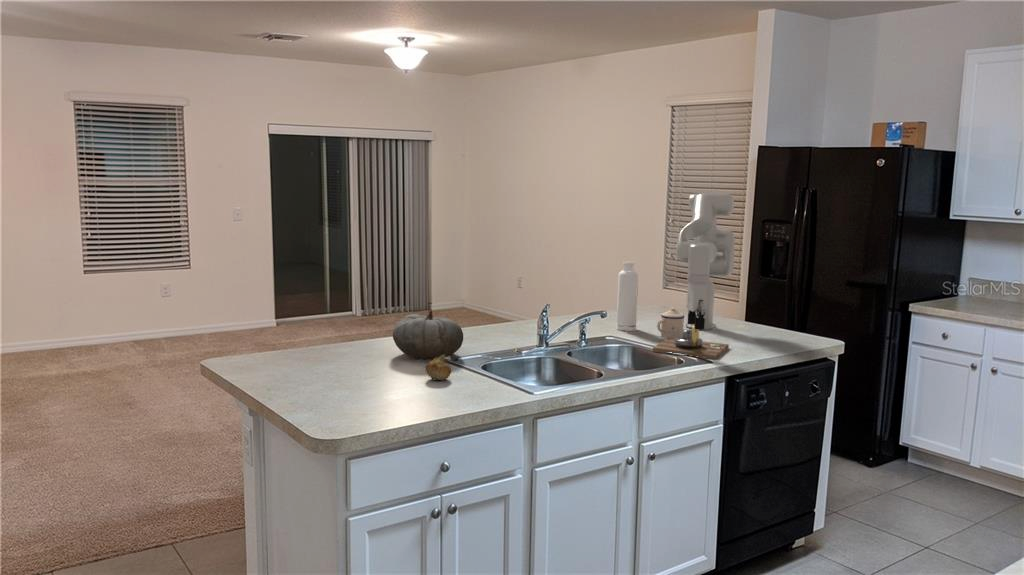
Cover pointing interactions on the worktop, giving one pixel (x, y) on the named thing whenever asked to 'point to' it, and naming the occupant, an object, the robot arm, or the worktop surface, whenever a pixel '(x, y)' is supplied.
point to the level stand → (692, 349)
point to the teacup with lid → (671, 324)
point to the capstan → (689, 339)
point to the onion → (439, 368)
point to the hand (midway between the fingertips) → (695, 326)
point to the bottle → (627, 297)
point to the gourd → (427, 336)
